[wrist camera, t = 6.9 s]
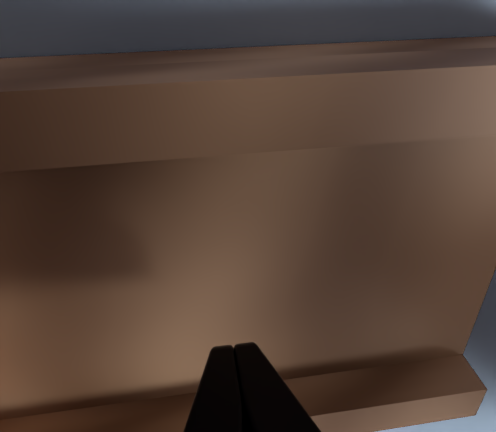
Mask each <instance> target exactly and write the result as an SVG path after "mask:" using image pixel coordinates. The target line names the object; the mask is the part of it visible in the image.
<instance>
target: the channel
mask: <svg viewBox="0 0 496 432" xmlns="http://www.w3.org/2000/svg"><path fill="white" fill-rule="evenodd" d="M495 269H496V36H485V37H462V38H440V39H418V40H396V41H373V42H351V43H329V44H306V45H284V46H262V47H240V48H217V49H195V50H173V51H150V52H128V53H106V54H83V55H61V56H39V57H17V58H0V432H183V430H184V427H185V425H186V422H187V419H188V416H189V413H190V410H191V407H192V404H193V401H194V398H195V395H196V392H197V389H198V386H199V383H200V380H201V377H202V374H203V371H204V368H205V365H206V362H207V359H208V356H209V353H210V350H211V349H212V348H213V347H215V346H222V345H232V346H233V348H234V346H235V345H236V344H238V343H246V342H254V343H256V344H257V345H258V347H259V348H260V349H261V351H262V352H263V353H264V355H265V356H266V357H267V359H268V360H269V361H270V363H271V364H272V366H273V367H274V368H275V370H276V371H277V372H278V374H279V375H280V376H281V378H282V379H283V380H284V382H285V383H286V385H287V386H288V387H289V389H290V390H291V391H292V393H293V394H294V395H295V397H296V398H297V399H298V401H299V402H300V403H301V405H302V406H303V408H304V409H305V410H306V412H307V413H308V414H309V416H310V417H311V418H312V420H313V421H314V422H315V424H316V425H317V427H318V428H319V429H320V431H321V432H374V431H380V430H386V429H393V428H399V427H405V426H411V425H418V424H424V423H430V422H436V421H443V420H449V419H455V418H461V417H468V416H474V415H476V413H477V411H478V409H479V406H480V404H481V402H482V400H483V398H484V396H485V393H486V391H487V388H486V387H485V385H484V384H483V383H482V381H481V380H480V378H479V377H478V376H477V374H476V373H475V371H474V370H473V369H472V367H471V366H470V364H469V363H468V361H467V360H466V359H465V357H464V356H463V352H464V350H465V347H466V345H467V342H468V339H469V337H470V334H471V331H472V329H473V326H474V324H475V321H476V318H477V316H478V313H479V311H480V308H481V305H482V303H483V300H484V297H485V295H486V292H487V290H488V287H489V284H490V282H491V279H492V277H493V274H494V271H495Z"/></svg>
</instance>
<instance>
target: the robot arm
mask: <svg viewBox="0 0 496 432" xmlns="http://www.w3.org/2000/svg"><path fill="white" fill-rule="evenodd" d="M183 432H321V431H320V429H319V428H318V427H317V425H316V424H315V422H314V421H313V420H312V418H311V417H310V416H309V414H308V413H307V412H306V410H305V409H304V408H303V406H302V405H301V403H300V402H299V401H298V399H297V398H296V397H295V395H294V394H293V393H292V391H291V390H290V389H289V387H288V386H287V385H286V383H285V382H284V380H283V379H282V378H281V376H280V375H279V374H278V372H277V371H276V370H275V368H274V367H273V366H272V364H271V363H270V361H269V360H268V359H267V357H266V356H265V355H264V353H263V352H262V351H261V349H260V348H259V347H258V345H257V344H256V343H254V342H246V343H238V344H236V345H235V346H234V348H233V346H232V345H222V346H215V347H213V348H212V349H211V350H210V353H209V356H208V359H207V362H206V365H205V368H204V371H203V374H202V377H201V380H200V383H199V386H198V389H197V392H196V395H195V398H194V401H193V404H192V407H191V410H190V413H189V416H188V419H187V422H186V425H185V427H184V430H183Z"/></svg>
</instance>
